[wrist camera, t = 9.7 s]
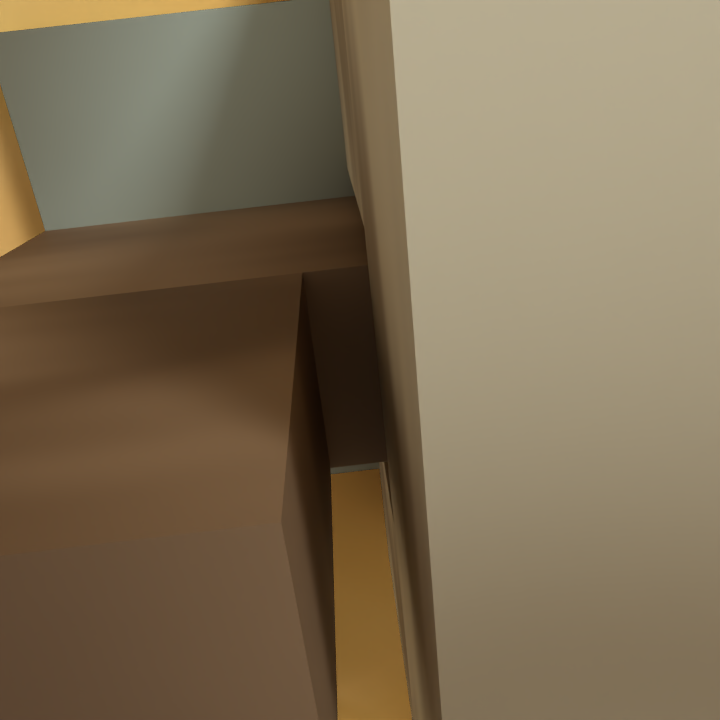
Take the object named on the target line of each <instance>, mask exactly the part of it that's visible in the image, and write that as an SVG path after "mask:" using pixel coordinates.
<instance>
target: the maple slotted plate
mask: <svg viewBox="0 0 720 720" xmlns="http://www.w3.org/2000/svg"><path fill="white" fill-rule="evenodd" d="M329 2H330V12H331V21H332V30H333V40H334V49H335V58H336V68H337V77H338V86H339V96H340V105H341V114H342V124H343V133H344V142H345V152H346V161H347V169H348V172H349V176H350V179H351V183H352V186H353V190H354V193H355V197H356V200H357V204H358V207H359V211H360V214H361V218H362V221H363V225H364V230H365V240H366V250H367V260H368V270H369V279H370V289H371V299H372V309H373V319H374V329H375V339H376V349H377V359H378V369H379V379H380V389H381V399H382V409H383V419H384V429H385V439H386V449H387V459H388V461H386V462H379V469H380V478H381V488H382V497H383V506H384V516H385V525H386V534H387V544H388V553H389V561H390V568H391V575H392V582H393V589H394V596H395V603H396V610H397V617H398V624H399V630H400V637H401V644H402V651H403V658H404V665H405V672H406V679H407V686H408V693H409V700H410V707H411V714H412V720H720V0H329Z"/></svg>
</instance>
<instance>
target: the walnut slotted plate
mask: <svg viewBox="0 0 720 720" xmlns="http://www.w3.org/2000/svg"><path fill="white" fill-rule="evenodd" d="M0 85H1V88H2V91H3V95H4V98H5V101H6V104H7V108H8V111H9V114H10V117H11V121H12V124H13V127H14V130H15V134H16V137H17V140H18V143H19V147H20V150H21V153H22V156H23V160H24V163H25V166H26V169H27V173H28V176H29V179H30V182H31V186H32V189H33V192H34V195H35V199H36V202H37V205H38V208H39V212H40V215H41V218H42V221H43V225H44V228H45V231H44V232H43V233H41V234H39V235H38V236H36V237H34V238H32V239H31V240H29V241H27V242H26V243H24V244H22V245H20V246H19V247H17V248H15V249H13V250H12V251H10V252H8V253H7V254H5V255H3V256H1V257H0V720H337V684H336V648H335V612H334V575H333V539H332V503H331V474H337V473H345V472H354V471H362V470H370V469H379V462H386V461H388V459H387V449H386V439H385V429H384V419H383V409H382V399H381V389H380V379H379V369H378V359H377V349H376V339H375V329H374V319H373V309H372V299H371V289H370V279H369V270H368V260H367V250H366V240H365V230H364V225H363V221H362V218H361V214H360V211H359V207H358V204H357V200H356V197H355V193H354V190H353V186H352V183H351V179H350V176H349V172H348V169H347V161H346V152H345V142H344V133H343V124H342V114H341V105H340V96H339V86H338V77H337V68H336V58H335V49H334V40H333V30H332V21H331V12H330V2H329V0H290V1H280V2H271V3H262V4H253V5H244V6H235V7H226V8H217V9H208V10H199V11H190V12H181V13H172V14H163V15H154V16H145V17H136V18H127V19H118V20H109V21H100V22H90V23H81V24H72V25H63V26H54V27H45V28H36V29H27V30H18V31H9V32H0Z"/></svg>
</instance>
